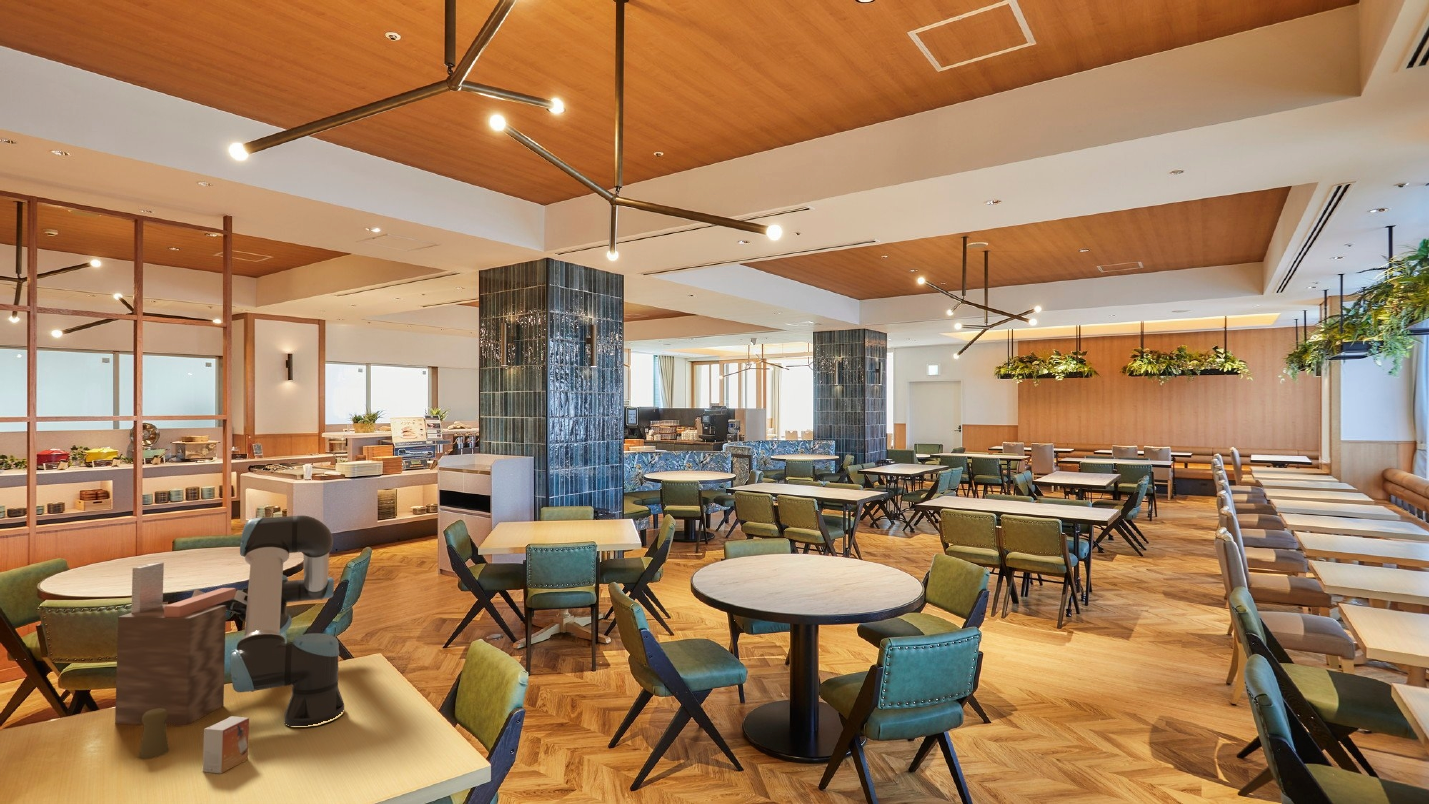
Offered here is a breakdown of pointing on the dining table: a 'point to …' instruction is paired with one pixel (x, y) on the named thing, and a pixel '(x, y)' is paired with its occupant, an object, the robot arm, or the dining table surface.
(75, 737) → the dining table surface
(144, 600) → the bookend
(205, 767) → the small box
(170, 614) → the terracotta clay brick
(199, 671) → the wooden block pedestal
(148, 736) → the cork
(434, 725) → the dining table surface
